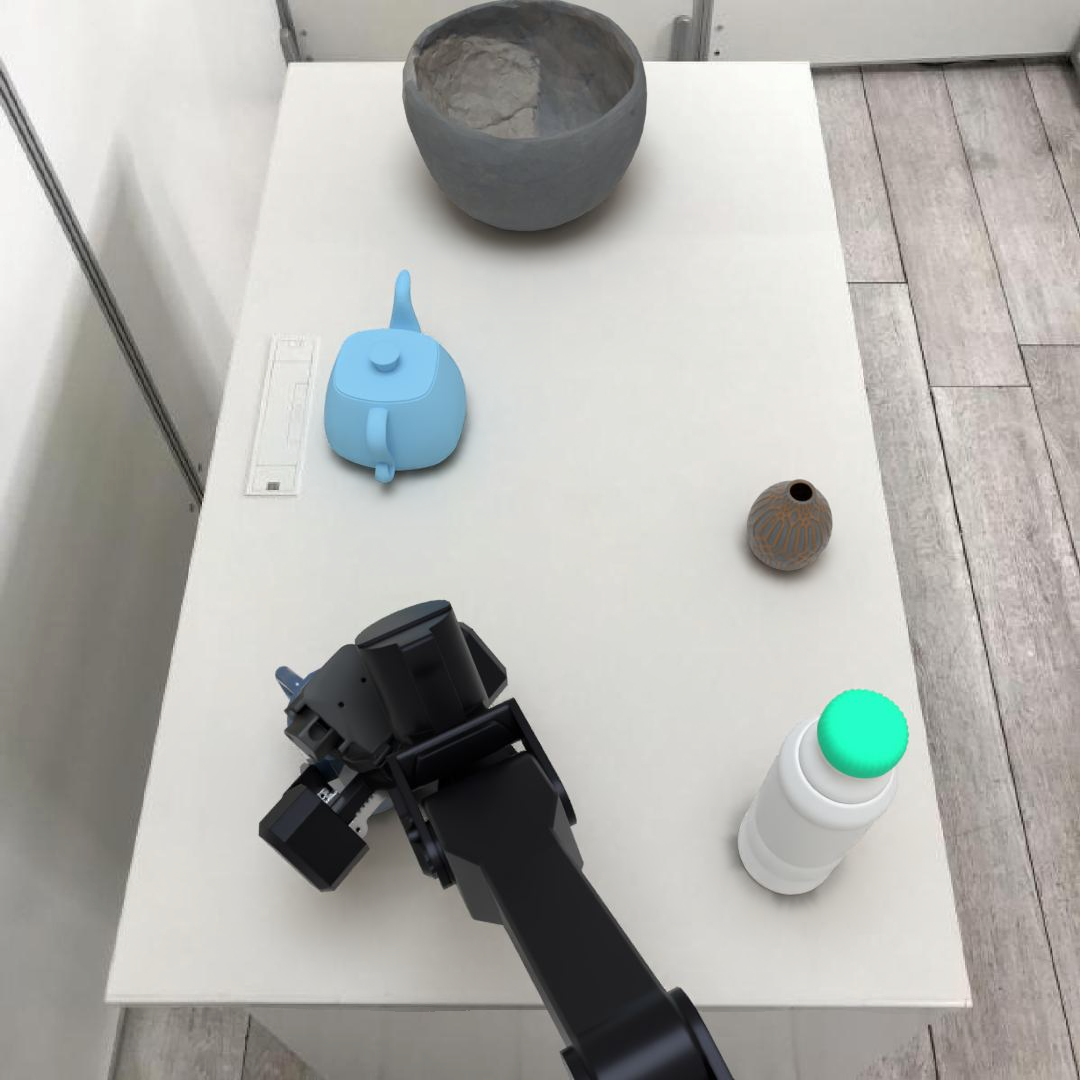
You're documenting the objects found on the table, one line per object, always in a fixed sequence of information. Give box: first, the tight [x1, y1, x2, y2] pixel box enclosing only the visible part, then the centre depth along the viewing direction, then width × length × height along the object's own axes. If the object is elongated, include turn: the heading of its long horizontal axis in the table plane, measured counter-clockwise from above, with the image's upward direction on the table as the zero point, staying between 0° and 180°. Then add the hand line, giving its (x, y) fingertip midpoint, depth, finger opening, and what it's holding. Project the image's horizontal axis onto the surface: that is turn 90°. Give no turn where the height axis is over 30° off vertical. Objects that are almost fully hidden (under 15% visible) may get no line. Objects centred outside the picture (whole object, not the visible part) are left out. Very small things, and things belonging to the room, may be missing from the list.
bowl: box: [401, 0, 648, 232], centre depth 109 cm, size 24×24×15 cm
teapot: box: [323, 269, 467, 484], centre depth 95 cm, size 13×11×18 cm
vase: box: [746, 478, 834, 571], centre depth 88 cm, size 7×7×9 cm
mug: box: [274, 665, 394, 816], centre depth 77 cm, size 10×7×13 cm
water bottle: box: [737, 688, 910, 896], centre depth 68 cm, size 7×7×25 cm
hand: (340, 730), depth 77 cm, fingers closed on mug, 7 cm apart
